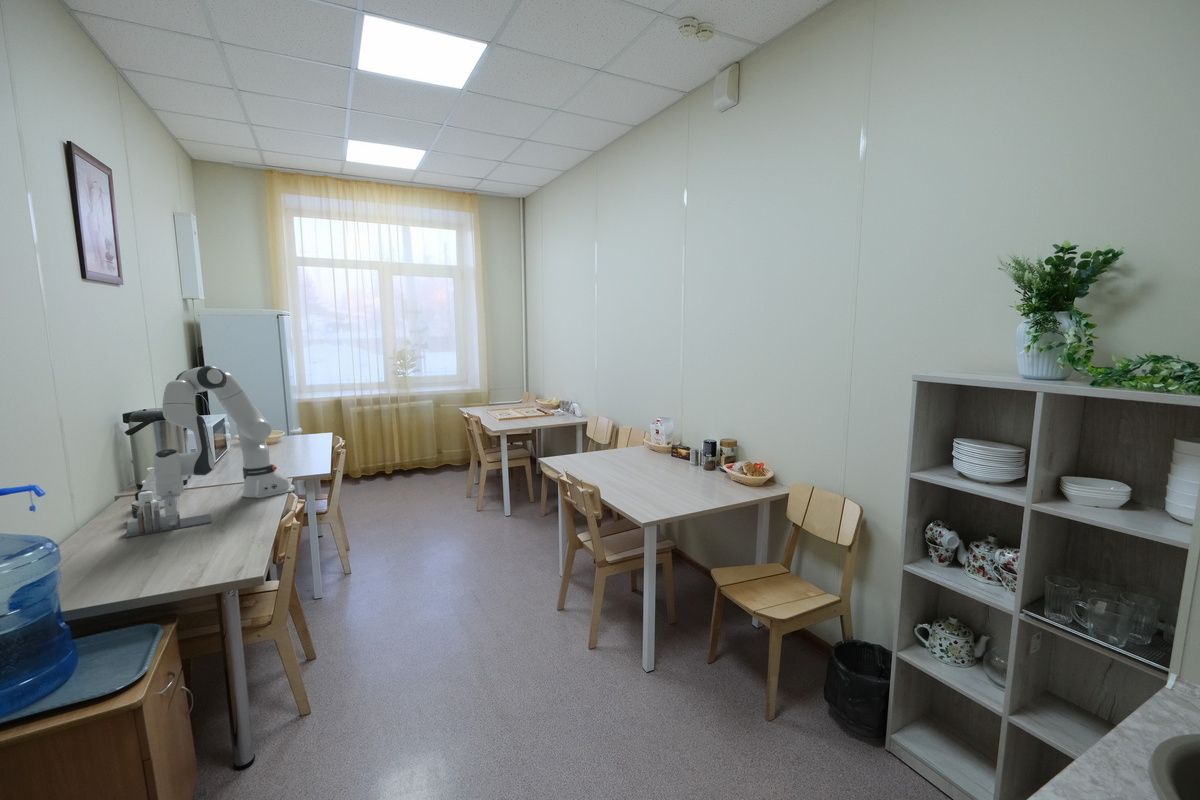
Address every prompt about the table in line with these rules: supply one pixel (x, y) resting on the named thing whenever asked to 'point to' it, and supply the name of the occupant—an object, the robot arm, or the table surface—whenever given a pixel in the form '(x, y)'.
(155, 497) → the honey pot
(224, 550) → the table surface
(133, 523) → the orange-striped grey block
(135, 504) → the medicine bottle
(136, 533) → the rail
